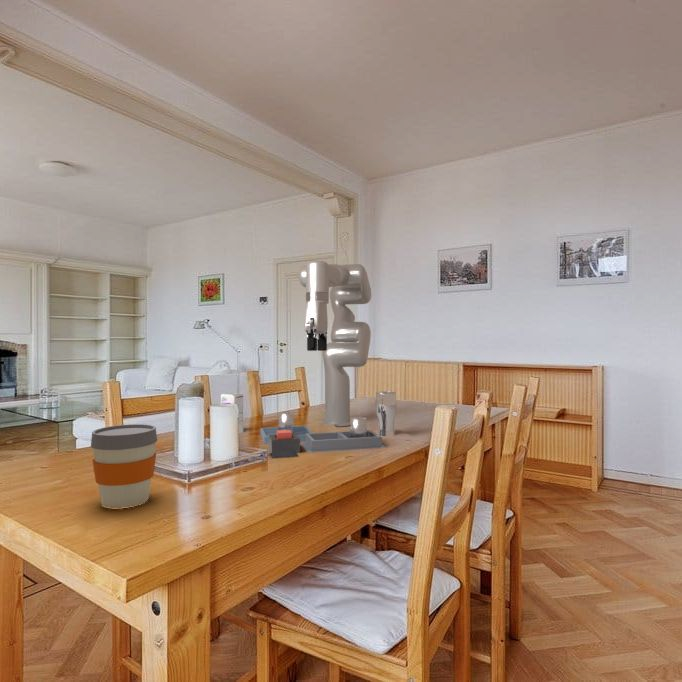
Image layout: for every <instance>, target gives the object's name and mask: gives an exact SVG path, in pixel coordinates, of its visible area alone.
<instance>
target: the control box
mask: <svg viewBox="0 0 682 682" xmlns="http://www.w3.org/2000/svg"><path fill="white" fill-rule="evenodd" d="M300 443H301V442H300V438H299V437H298V435H297V434H296V433H292V438H284V439H276V434H272V435H269V444H268V449H269V451H270V453H269V455H270V458H271V459H279V458H280V459H281V458H295V456H297V457H299V455H298V454H300V453H301V444H300Z"/></svg>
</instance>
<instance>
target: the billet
mask: <svg viewBox="0 0 682 682" xmlns="http://www.w3.org/2000/svg"><path fill="white" fill-rule="evenodd" d="M294 426H295V412H293V411H281V412H278V427H279V430H291V432H292V433H294Z"/></svg>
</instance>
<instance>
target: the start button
mask: <svg viewBox="0 0 682 682" xmlns="http://www.w3.org/2000/svg"><path fill="white" fill-rule="evenodd" d="M284 438H292V432H291V430H277V431H276V439H284Z"/></svg>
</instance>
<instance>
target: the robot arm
mask: <svg viewBox="0 0 682 682" xmlns="http://www.w3.org/2000/svg"><path fill="white" fill-rule="evenodd" d="M298 280H299V282H300V284H301V286H302V287H304V288H305V303H306V306H305V313H304V314H305V316H304V331H305V333H306V338H307V339H306V341H307V342H306V350H307V351H308V352H314V351H315V352H317V351H318V352H319V351H320V352H321V353H322V355H321V356H322V361H323V367H324V410H325V411H324V413H325V414H324V416H325V417H324V419H322V420H321V422H320V423H321V425H332V426H333V425H334V427H347V426H348V427H350V418H351V411H350V410H351V404H350V403H351V399H350V398H351V397H350V395H351V394H350V393H351V392H350V391H351V390H350V389H351V386H350V383H351V381H350V376H349V374H348V373H347V371H346V370H345V369H344V368H348V367H349V368H360V367H364V366H365V365H366V364H367V362H368V358H369V354H370V353H369V351H370V345H371V336H372V334H371V327H370V325H369V324H368V323H367V322H365V321H355V320H356V317H355V314H354V312H353V311H352V310H351V309H350V308H349V307H348V306H347V305H365V304H368V303H370V302H371V299H372V290H371V286H370V280H369V276H368V273H367V271H366V268H365V267H364V265H362V264H360V263H356V264H355V263H353V264H336V263H332V264H331V263H330V264H329V263H328V262H326V261H324V260H311V261H308V262H307V263H306V265H303V266H302V267H301V268H300V270H299V272H298ZM329 288H330V291H329ZM329 299H330V302H329ZM329 303H330V305H331V309H332V311H333V320H332V321H333V322H332V325H331V332H330V340H331V342H328V335H327V334H328V326H329V325H328V324H329V323H328V320H329V318H328V306H327V305H328V304H329Z"/></svg>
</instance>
